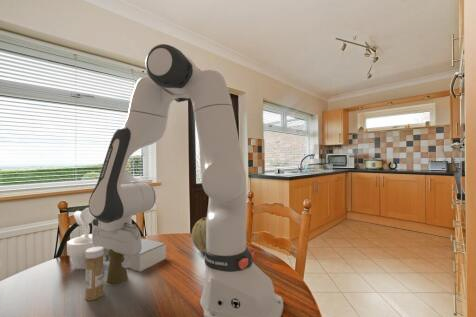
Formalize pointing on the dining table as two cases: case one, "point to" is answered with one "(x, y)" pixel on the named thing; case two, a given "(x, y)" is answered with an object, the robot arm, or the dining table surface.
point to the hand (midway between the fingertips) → (115, 263)
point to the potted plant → (81, 240)
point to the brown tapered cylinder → (116, 268)
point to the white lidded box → (148, 255)
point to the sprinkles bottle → (94, 273)
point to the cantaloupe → (199, 234)
